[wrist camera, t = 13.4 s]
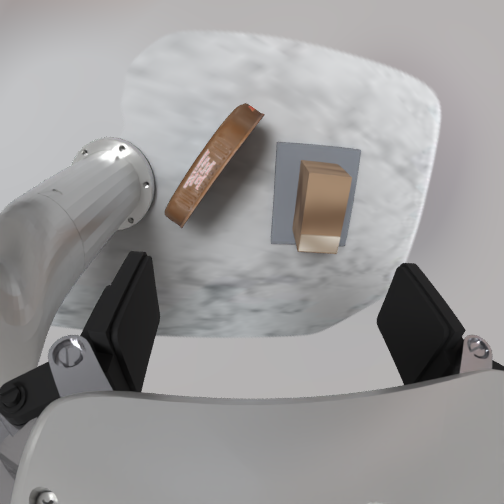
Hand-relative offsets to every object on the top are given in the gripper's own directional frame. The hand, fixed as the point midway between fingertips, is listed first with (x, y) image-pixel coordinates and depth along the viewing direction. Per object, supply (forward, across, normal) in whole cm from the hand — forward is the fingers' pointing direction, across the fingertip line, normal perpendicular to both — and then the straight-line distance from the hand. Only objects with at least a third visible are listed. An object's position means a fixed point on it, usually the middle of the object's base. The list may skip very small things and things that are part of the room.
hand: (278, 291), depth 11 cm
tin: (+26, +4, +1) cm, 26 cm away
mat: (+25, -8, +5) cm, 27 cm away
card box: (+25, -8, +5) cm, 26 cm away
